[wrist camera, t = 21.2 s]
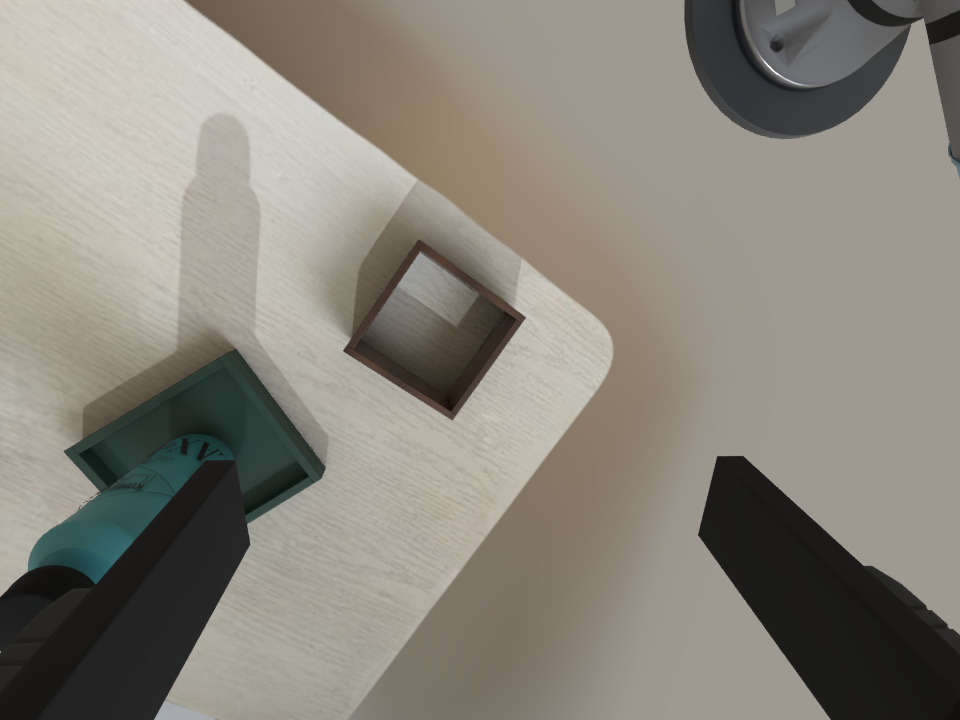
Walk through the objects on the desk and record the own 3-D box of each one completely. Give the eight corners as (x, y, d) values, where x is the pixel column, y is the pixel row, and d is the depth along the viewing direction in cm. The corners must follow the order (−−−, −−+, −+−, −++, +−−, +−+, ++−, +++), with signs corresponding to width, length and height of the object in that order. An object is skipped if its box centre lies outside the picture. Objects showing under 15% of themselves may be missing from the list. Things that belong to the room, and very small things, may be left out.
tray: (236, 348, 41) (226, 353, 39) (326, 468, 44) (321, 478, 42) (81, 441, 41) (62, 451, 38) (184, 554, 44) (172, 570, 42)
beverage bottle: (259, 469, 43) (133, 642, 23) (195, 505, 42) (13, 710, 23) (215, 410, 41) (40, 544, 22) (148, 448, 41) (-89, 616, 21)
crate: (513, 311, 44) (526, 317, 39) (448, 403, 45) (452, 420, 40) (417, 242, 41) (418, 239, 36) (350, 341, 42) (342, 351, 37)
